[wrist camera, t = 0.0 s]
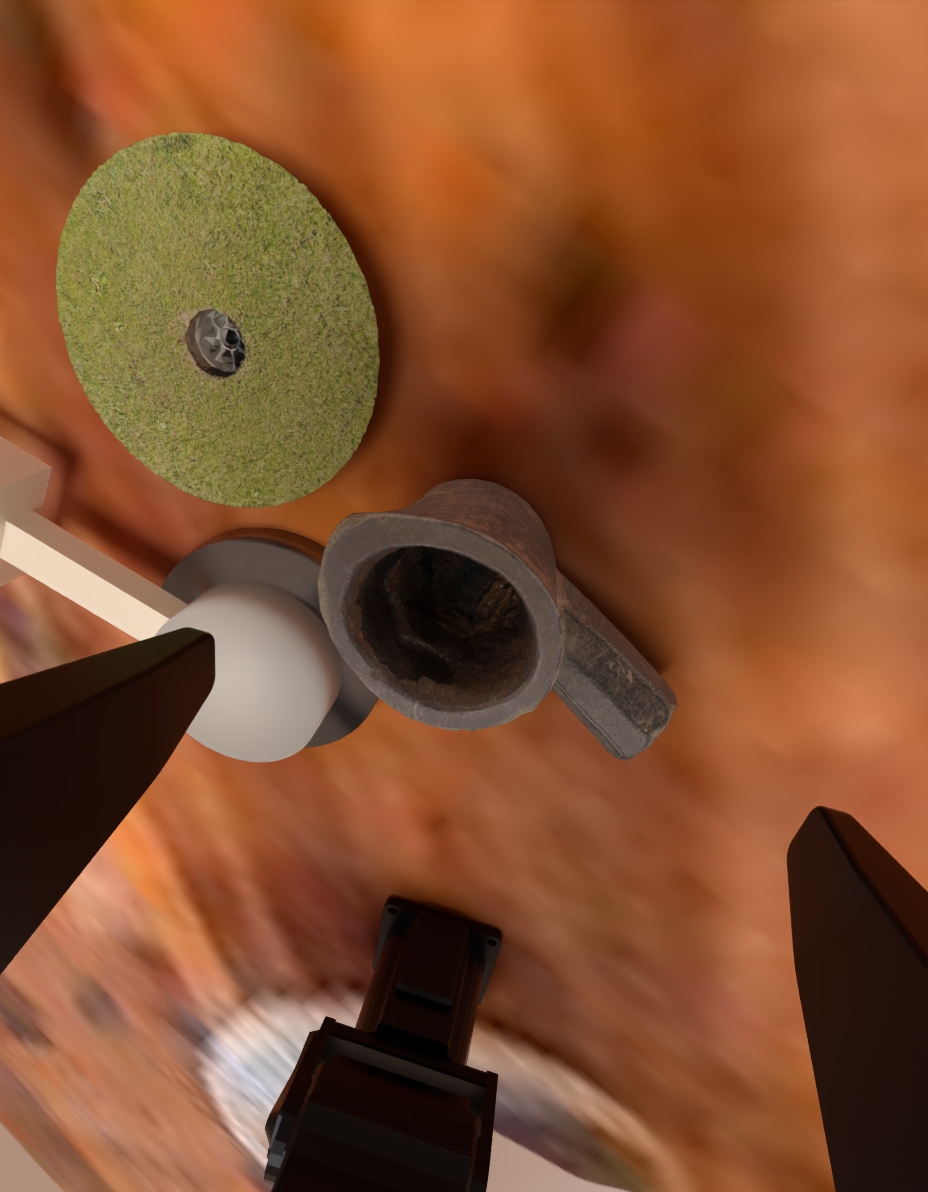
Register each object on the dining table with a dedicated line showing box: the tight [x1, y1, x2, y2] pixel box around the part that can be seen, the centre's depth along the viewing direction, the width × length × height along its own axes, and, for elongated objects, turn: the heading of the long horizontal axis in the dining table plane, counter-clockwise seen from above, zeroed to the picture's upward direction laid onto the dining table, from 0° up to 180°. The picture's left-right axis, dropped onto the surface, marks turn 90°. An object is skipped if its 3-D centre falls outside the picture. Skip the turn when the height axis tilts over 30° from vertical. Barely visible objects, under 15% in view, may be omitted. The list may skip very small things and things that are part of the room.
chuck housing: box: [162, 528, 378, 748], centre depth 27 cm, size 10×10×2 cm
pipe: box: [317, 479, 677, 760], centre depth 21 cm, size 6×13×8 cm, turn 47°
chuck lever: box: [0, 436, 343, 762], centre depth 25 cm, size 19×7×3 cm, turn 60°
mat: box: [56, 132, 380, 508], centre depth 22 cm, size 11×11×2 cm
